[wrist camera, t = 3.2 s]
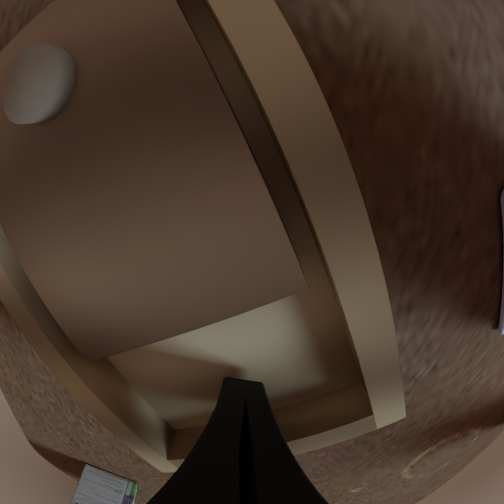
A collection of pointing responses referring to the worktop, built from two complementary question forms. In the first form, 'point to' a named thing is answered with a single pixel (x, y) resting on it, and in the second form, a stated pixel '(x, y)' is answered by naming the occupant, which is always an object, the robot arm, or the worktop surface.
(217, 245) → the lid plate
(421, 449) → the worktop surface
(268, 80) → the oak box
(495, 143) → the worktop surface
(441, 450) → the worktop surface
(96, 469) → the syrup box
